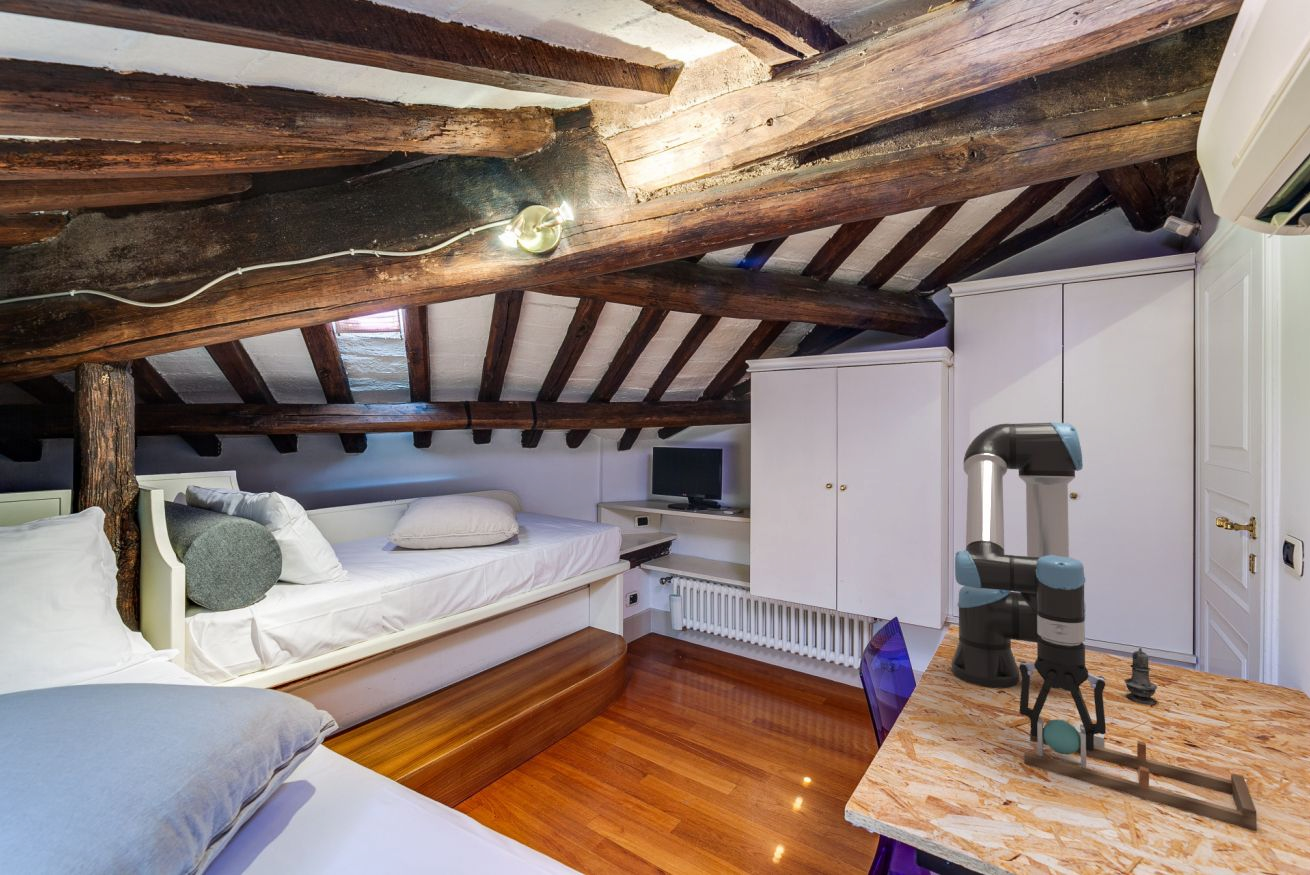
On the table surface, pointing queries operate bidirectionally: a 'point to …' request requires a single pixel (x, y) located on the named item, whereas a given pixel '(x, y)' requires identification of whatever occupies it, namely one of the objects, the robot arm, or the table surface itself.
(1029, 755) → the lane
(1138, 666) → the dark grey chess piece
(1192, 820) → the table surface
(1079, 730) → the white square frame
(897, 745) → the table surface
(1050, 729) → the ball
